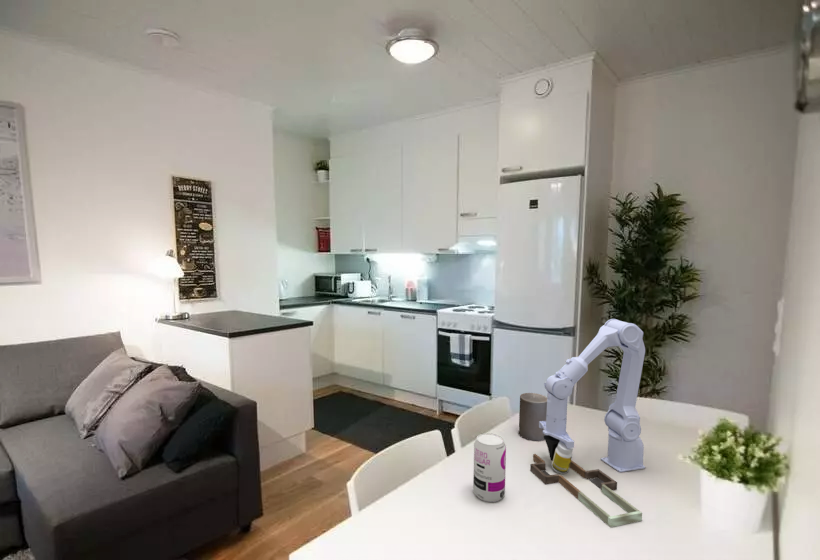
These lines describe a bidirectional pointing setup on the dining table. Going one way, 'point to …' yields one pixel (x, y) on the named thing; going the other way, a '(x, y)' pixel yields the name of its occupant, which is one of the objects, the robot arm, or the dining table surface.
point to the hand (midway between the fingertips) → (554, 460)
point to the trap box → (600, 481)
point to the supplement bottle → (562, 458)
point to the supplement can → (489, 467)
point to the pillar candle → (532, 416)
